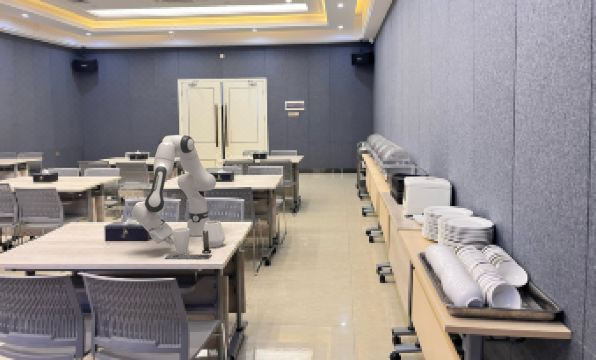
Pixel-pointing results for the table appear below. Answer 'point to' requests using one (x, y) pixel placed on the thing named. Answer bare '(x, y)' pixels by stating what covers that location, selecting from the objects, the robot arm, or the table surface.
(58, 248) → the table surface
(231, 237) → the table surface
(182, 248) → the foam cup
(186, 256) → the hole plate
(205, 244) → the post
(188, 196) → the robot arm
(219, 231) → the white bulging cylinder
